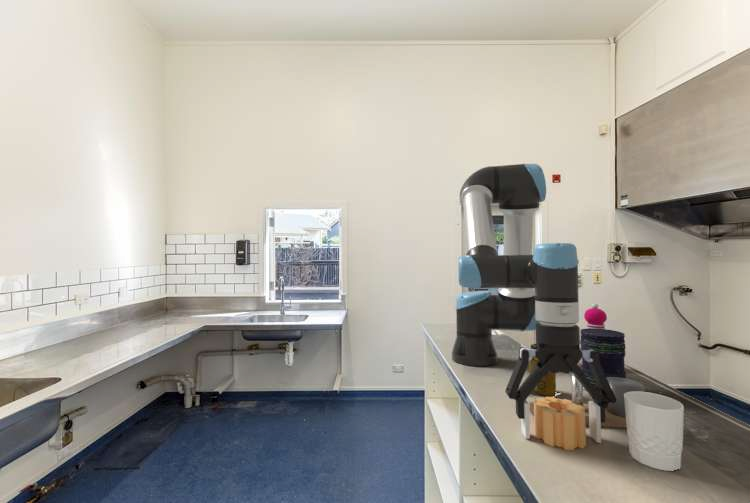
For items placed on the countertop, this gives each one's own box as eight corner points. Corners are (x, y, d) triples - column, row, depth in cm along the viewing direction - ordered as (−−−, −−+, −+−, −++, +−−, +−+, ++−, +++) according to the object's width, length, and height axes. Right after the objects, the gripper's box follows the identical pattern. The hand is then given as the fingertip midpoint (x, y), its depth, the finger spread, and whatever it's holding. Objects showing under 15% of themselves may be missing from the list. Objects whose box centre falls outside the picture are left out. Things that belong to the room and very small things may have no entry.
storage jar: (608, 399, 82) (606, 337, 82) (572, 385, 91) (571, 330, 92) (636, 394, 85) (634, 334, 86) (599, 381, 94) (597, 327, 95)
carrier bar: (529, 410, 76) (529, 401, 76) (635, 415, 73) (635, 406, 74) (538, 423, 70) (538, 413, 70) (654, 429, 68) (654, 418, 68)
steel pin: (570, 407, 73) (569, 369, 74) (580, 407, 73) (579, 370, 73) (574, 411, 71) (573, 372, 72) (585, 411, 71) (584, 373, 71)
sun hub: (597, 403, 75) (596, 376, 75) (631, 405, 74) (630, 377, 74) (615, 418, 68) (614, 388, 68) (653, 419, 67) (652, 389, 67)
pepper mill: (584, 362, 112) (582, 301, 113) (610, 365, 108) (608, 302, 108) (582, 367, 106) (580, 303, 107) (610, 372, 102) (608, 305, 102)
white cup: (614, 448, 61) (612, 392, 61) (654, 445, 62) (652, 390, 62) (654, 475, 53) (651, 411, 53) (699, 472, 54) (697, 408, 54)
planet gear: (528, 425, 70) (528, 395, 70) (573, 427, 68) (572, 397, 69) (544, 448, 61) (543, 414, 61) (595, 451, 60) (594, 417, 60)
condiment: (563, 394, 86) (562, 346, 86) (544, 402, 81) (543, 351, 81) (536, 385, 92) (535, 341, 92) (517, 392, 87) (516, 345, 88)
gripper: (496, 325, 63) (499, 443, 62) (637, 327, 60) (641, 451, 59) (488, 318, 71) (490, 424, 70) (613, 320, 67) (617, 430, 67)
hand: (560, 437), depth 65 cm, fingers open, 12 cm apart
